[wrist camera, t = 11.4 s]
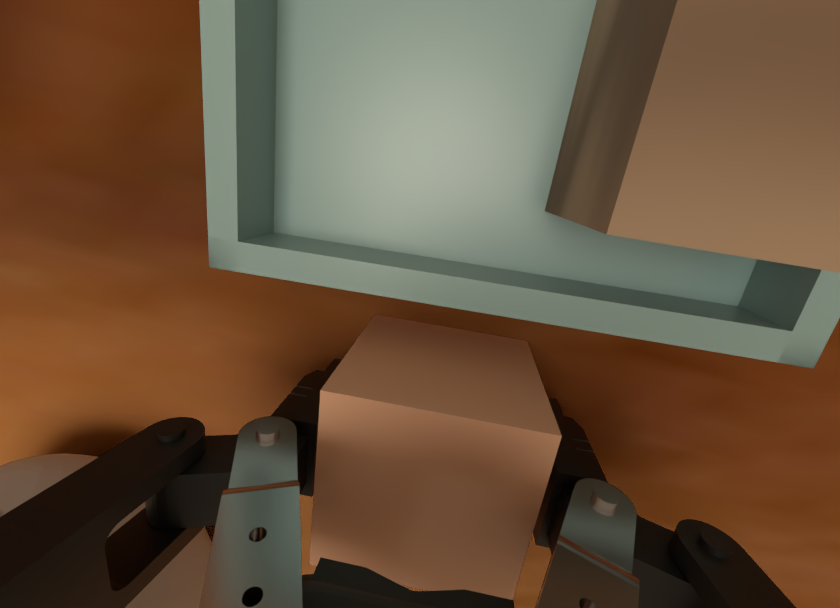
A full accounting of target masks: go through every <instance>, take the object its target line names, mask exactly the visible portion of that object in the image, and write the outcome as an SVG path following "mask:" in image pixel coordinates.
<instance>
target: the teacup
mask: <svg viewBox="0 0 840 608" xmlns="http://www.w3.org/2000/svg"><path fill="white" fill-rule="evenodd" d="M96 458H98V457H97V456H90V455H82V454H67V453H63V454H48V455H40V456H34V457H28V458H24V459H20V460H16V461H12V462H10V463H7V464H4V465H2V466H0V517H1V516H3V515H4V514H6V513H8V512H9V511H11V510H12V509H14V508H16V507H17V506H19V505H21V504H22V503H24V502H26V501H27V500H29V499H31V498H32V497H34V496H35V495H37V494H39V493H40V492H42V491H44V490H45V489H47V488H49V487H50V486H52V485H54V484H55V483H57V482H59V481H60V480H62V479H63V478H65V477H67V476H68V475H70V474H72V473H73V472H75V471H77V470H78V469H80V468H82V467H83V466H85V465H87V464H88V463H90V462H91V461H93V460H95V459H96ZM145 507H146V506H145V502H144V503H143V504H141V505H140V506H139V507H138V508H136V509H135V510H134V511H133V512H131V513H130V514H129V515H128V516H126V517H125V518H124V519H123V520H121V521H120V522H119V523H118V524H117V525H116V526H115V527H114V528H113V530H112V531H111V533H110V534H109V536H110V535H111V534H113V533H114V532H115V531H116V530H118V529H119V528H120V527H121V526H123V525H124V524H125V523H126V522H128V521H129V520H130V519H131V518H133V517H134V516H135V515H136V514H137V513H139V512H140V511H141V510H142V509H144V508H145ZM109 536H108V537H109ZM211 545H212V542H211V539H210V537H209V535H208V532H207V531H206V526H204V528H203V529H202V530H201V531H200V532H199V533H198V534H197V535H196V536H195V537H194V538H193V539H192V540H191V541H190V542H189V543H188V544H187V545H186V546H185V547H184V548H183V549H182V550H181V551H180V552H179V554H178V555H177V556H176V557H175V558H174V559H173V560H172V561H171V562H170V563H169V564H168V565H167V566H166V567H165V568H164V569H163V570H162V571H161V572H160V573H159V574H158V575H157V576H156V577H155V578H154V579H153V580H152V581H151V582H150V583H149V584H148V585H147V586H146V587H145V588H144V589H143V590H142V591H141V592H140V593H139V594H138V595H137V596H136V597H135V598H134V599H133V600H132V601H131V602H130V603H129V604H128V605H127V606H126V607H125V608H199V604H200V599H201V594H202V590H203V585H204V580H205V575H206V570H207V565H208V560H209V555H210V550H211Z"/></svg>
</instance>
